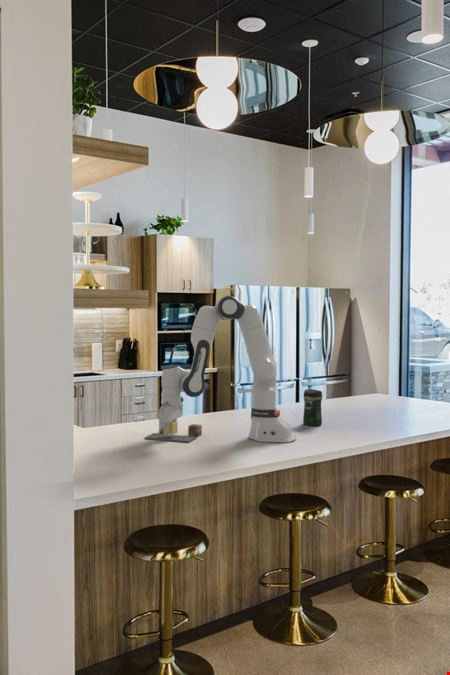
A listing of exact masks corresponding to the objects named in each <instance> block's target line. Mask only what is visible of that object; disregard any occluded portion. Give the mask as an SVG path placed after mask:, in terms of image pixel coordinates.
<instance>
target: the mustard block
mask: <svg viewBox="0 0 450 675" xmlns="http://www.w3.org/2000/svg"><path fill="white" fill-rule="evenodd" d="M169 427H170V431H165V425H164V423H163V434H168V435H177V433H178V421H177V422H172V421H170V424H169Z"/></svg>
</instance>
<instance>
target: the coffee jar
mask: <svg viewBox="0 0 450 675" xmlns="http://www.w3.org/2000/svg"><path fill="white" fill-rule="evenodd" d="M303 400H304V406H303V416H302V417H303V419H302V421H303V422H302V423H303V424H304V425H306V424H307V425H306V426H311V425H313V427H314V426H316V425H319V426H321V425H322V424H323V419H322V418H323V415H322V400H323V391H322V390H318V389H305V390H304V391H303Z"/></svg>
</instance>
